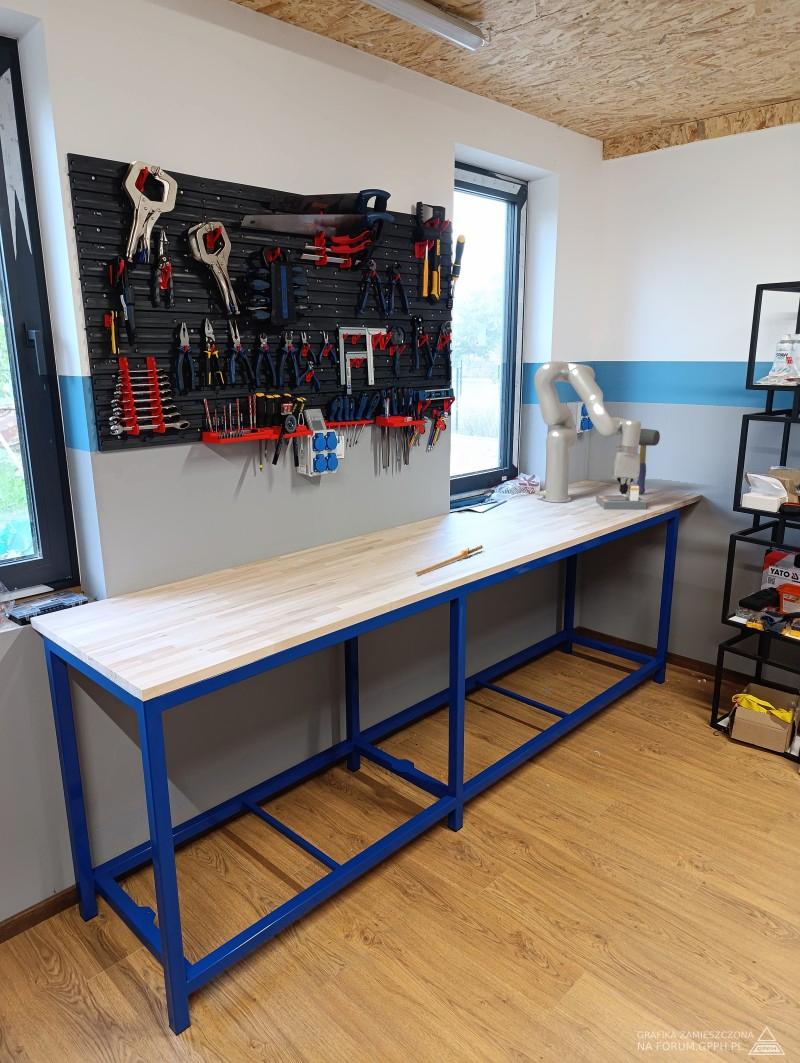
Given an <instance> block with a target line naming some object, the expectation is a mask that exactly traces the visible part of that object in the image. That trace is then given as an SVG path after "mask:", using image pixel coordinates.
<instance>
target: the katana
mask: <svg viewBox="0 0 800 1063" xmlns="http://www.w3.org/2000/svg"><path fill="white" fill-rule="evenodd" d="M483 548H484V547H483V545H479V546H477V547H474V548H472V549H470V548H469V547H467V548H466V549H464V550H461V551H460V554H458V555H456V556H454V557H452V558H449V559H447V560H444V561H442V562H439V563H437V564H434V565H432V566H430V567H426V568H424V569H421V570H418V571H416V572H415V574H416V576H417V577H418V576H421V575H424V574H426V573H429V572H432V571H435V570H437V569H439V568H441V567H444V566H446V565H449V564H450V563H451V564H452V563H454V562H456V561H460V560H462V559H463V560H464V559H466V558H469V557H470V554H472V553H475V552H477V551H479V550H482V549H483Z"/></svg>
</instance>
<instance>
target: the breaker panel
mask: <svg viewBox="0 0 800 1063" xmlns="http://www.w3.org/2000/svg"><path fill="white" fill-rule="evenodd" d="M624 484H625V481H624ZM629 485H635V484H634V482H633V481H632V482H631V483H630V484H629ZM629 485H628V492H626V494H619V495H615V494H613V495H612V494H605V495H604V494H603V495H602V494H597V495H596V498H595V499H596V500H595V503H596V504H598V506H600V507H601V508H602V507H603V508H604V509H603V508H602V509H603V510H646V509H647V501H646V500H643V499H642V498H641V497H639V496H638V501H630V500H629V499H628V498H629Z"/></svg>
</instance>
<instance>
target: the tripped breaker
mask: <svg viewBox="0 0 800 1063" xmlns="http://www.w3.org/2000/svg"><path fill="white" fill-rule="evenodd" d="M639 496H640V495H639V486H637V484H634V485H629V498H628V499H629V500H630V501H638V497H639Z"/></svg>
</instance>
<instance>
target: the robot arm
mask: <svg viewBox="0 0 800 1063" xmlns="http://www.w3.org/2000/svg"><path fill="white" fill-rule="evenodd" d="M595 378H596V374H595V370H594V369H593V368H592V367H591V366H589V365H585V364H578V363H574V362H568V361H561V360H559V361H558V360H557V361H556V360H555V361H554V360H553V361H552V360H551V361H547V362H545V363H543V364H542V365H541V366H539V367H538V369H537V370H536V373H535V375H534V378H533V379H534V380H533V381H534V389H535V393H536V397H537V399H538V405H539V408H540V411H541V412H540V413H541V416H542V420H543V422H544V424H546V425H547V426H550V427H553V428H554V429H552V430H550V431H549V432H548V433H547V435H546V437H545V438H546V439H545V448H546V477H545V478H546V479H545V480H546V482H545V488H544V490H542V491H540V490H535V491H534V496H538V497H541V496H542V497H541V499H542V501H543V502H547V503H568V502H571V501H572V497H571V496H568V495H569V476H570V475H569V473H570V455H569V453H570V452H569V449H570V448H572V447H574V446H575V445H576V444H577V442H578V431H577V427H576V424H575V420H574V416H573V412H572V411H571V409H570V407H569V406H568V405H567V404H566V403H563V402H560V398H559V394H558V391H557V389H556V387H555V384H554V383H555V382H563V383H568V384H571V386H572V388H573V389H574V390H575V392H576V393H577V395H578V397H579V398H580V399H581V401H582V402H583V404H584V406H585V410H586V412H587V415H588V417H589V420H590V421H591V423H592V425H593V426H594V427H595V429H596V430H597V431H598V433H599V434H600V435H602V437H605V438H611V437H615V436H620V439H619V445H618V446H615V450H616V451H618V452H616V455H615V459H614V462H613V468H612V476H611V480H615V481H618V482H619V484H620V485H619V492H620V495H623V494H626V492H628V485H629V484H630V483H631V482H632V483H633V482H635V481H636V482H637V480H638V477H639V473H640V453H639V446H640V445H639V439H640V431H641V429H642V422H641V421H640V420H637V419H629V418H628V419H626V418H622V417H617V416H616V417H615V416H614V417H611V416H610V414H609V413H608V411H607V410H606V408H605V405H604V393H603V391H602V389H601V388H600V386H599V385H598V383H597V382H596V381H595ZM624 479H625V480H624ZM624 482H625V484H624Z"/></svg>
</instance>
